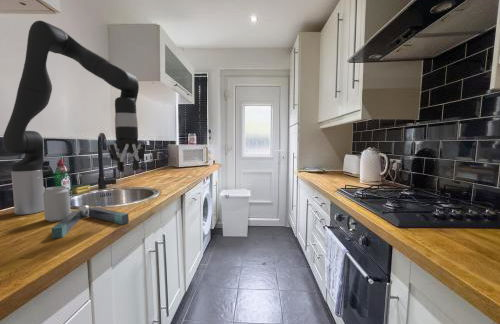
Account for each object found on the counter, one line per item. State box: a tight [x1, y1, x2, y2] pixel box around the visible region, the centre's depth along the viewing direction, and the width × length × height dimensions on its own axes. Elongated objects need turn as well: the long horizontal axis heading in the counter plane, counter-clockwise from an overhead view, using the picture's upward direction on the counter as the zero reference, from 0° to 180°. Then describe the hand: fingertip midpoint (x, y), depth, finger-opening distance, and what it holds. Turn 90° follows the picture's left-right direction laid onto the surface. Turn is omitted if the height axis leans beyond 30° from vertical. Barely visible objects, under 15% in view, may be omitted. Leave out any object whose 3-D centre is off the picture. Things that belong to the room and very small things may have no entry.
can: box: [43, 185, 72, 223], centre depth 88 cm, size 8×8×12 cm
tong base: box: [51, 204, 90, 240], centre depth 82 cm, size 24×4×4 cm, turn 22°
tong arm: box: [89, 206, 130, 225], centre depth 87 cm, size 20×2×3 cm, turn 62°
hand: (128, 171), depth 91 cm, fingers open, 5 cm apart
